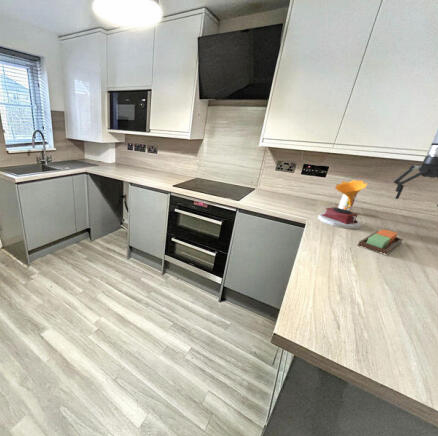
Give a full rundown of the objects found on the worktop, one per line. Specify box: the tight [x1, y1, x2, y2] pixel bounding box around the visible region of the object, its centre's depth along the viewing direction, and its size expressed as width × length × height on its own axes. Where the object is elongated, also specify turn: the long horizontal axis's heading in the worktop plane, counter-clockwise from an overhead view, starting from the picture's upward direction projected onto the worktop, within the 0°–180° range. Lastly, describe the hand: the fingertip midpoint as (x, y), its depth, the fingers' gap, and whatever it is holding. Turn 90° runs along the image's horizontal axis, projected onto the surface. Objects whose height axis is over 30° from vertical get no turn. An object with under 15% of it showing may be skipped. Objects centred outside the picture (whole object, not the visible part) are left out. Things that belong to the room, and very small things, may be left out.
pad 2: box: [376, 228, 399, 244], centre depth 116 cm, size 10×6×4 cm, turn 123°
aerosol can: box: [337, 193, 358, 212], centre depth 156 cm, size 7×7×20 cm
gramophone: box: [317, 179, 368, 230], centre depth 135 cm, size 20×20×25 cm
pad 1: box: [366, 234, 391, 248], centre depth 110 cm, size 10×6×4 cm, turn 123°
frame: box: [357, 231, 404, 255], centre depth 114 cm, size 10×25×2 cm, turn 123°
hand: (416, 202), depth 111 cm, fingers open, 13 cm apart
